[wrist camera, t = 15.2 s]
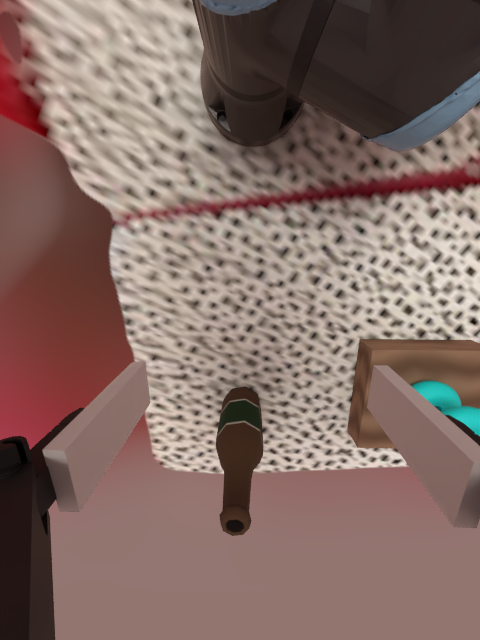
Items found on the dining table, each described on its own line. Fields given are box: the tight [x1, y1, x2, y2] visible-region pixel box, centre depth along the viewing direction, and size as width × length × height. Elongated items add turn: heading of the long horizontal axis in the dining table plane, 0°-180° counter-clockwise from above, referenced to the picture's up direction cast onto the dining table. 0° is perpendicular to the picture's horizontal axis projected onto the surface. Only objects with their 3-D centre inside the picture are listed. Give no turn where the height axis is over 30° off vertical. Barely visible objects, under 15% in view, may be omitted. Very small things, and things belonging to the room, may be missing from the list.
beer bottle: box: [216, 387, 263, 536], centre depth 40 cm, size 8×8×24 cm
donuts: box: [412, 381, 480, 436], centre depth 39 cm, size 10×10×10 cm
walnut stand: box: [348, 339, 480, 449], centre depth 47 cm, size 20×20×5 cm
